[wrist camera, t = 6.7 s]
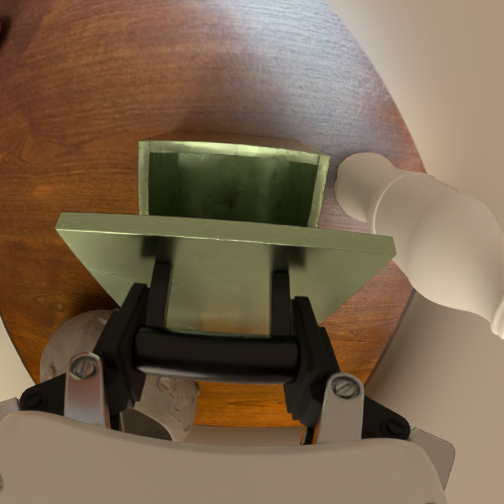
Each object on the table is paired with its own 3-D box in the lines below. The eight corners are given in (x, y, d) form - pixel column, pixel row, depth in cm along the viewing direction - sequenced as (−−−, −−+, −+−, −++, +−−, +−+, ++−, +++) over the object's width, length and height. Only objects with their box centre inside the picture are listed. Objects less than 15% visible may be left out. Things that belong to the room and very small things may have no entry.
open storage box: (174, 131, 26) (138, 140, 16) (298, 141, 27) (331, 155, 17) (172, 266, 33) (150, 327, 23) (278, 274, 34) (292, 337, 24)
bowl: (176, 405, 47) (166, 474, 33) (65, 359, 41) (36, 421, 28) (226, 331, 38) (223, 427, 24) (74, 263, 32) (14, 338, 19)
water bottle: (351, 223, 31) (487, 404, 9) (314, 176, 29) (480, 357, 6) (395, 184, 29) (569, 316, 7) (362, 135, 27) (583, 226, 4)
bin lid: (61, 210, 9) (22, 340, 6) (393, 235, 10) (415, 369, 7) (149, 326, 23) (143, 381, 21) (292, 336, 24) (293, 392, 22)
